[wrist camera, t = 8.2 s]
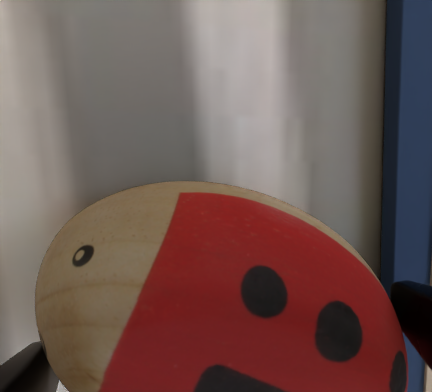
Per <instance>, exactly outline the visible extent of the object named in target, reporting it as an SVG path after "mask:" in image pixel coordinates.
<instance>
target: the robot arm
mask: <svg viewBox="0 0 432 392" xmlns="http://www.w3.org/2000/svg"><path fill="white" fill-rule="evenodd" d="M390 301H391V303H392V306H393V308H394V310H395V313H396V315H397V318H398V321H399V324H400V327H401V330H402V332H403V333H404V335H405V336H406V337H407V339H408V340H409V341H410V343H411V344H412V345H413V347H414V348H415V349H416V351H417V352H418V353H419V355H420V356H421V357H422V359H423V360H424V361H425V363H426V364H427V365H428V367H429V368H430V369H431V370H432V286H430V285H426V284H421V283H417V282H413V281H409V280H403V281H398V282H394V283H392V284H391V287H390ZM58 382H59V378H58V377H57V375H56V374H55V372H54V371H53V369H52V367H51V365H50V363H49V362H48V359H47V357H46V355H45V352H44V349H43V346H42V343H41V341H40V342H34V343H32V344H30V345H29V346H27V347H26V348H24V349H23V350H22V351H20V352H19V353H17V354H16V355H15V356H13V357H12V358H10V359H9V360H7V361H6V362H5V363H3V364H2V365H0V392H56V390H57V386H58Z"/></svg>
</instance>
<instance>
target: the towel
mask: <svg viewBox="0 0 432 392" xmlns="http://www.w3.org/2000/svg"><path fill="white" fill-rule="evenodd" d="M403 280H409V281H413V282H417V283H421V284H426V285H430V286H432V0H387V24H386V67H385V110H384V153H383V195H382V238H381V281H380V283H381V284H382V286H383V288H384V290H385V291H386V293H387V295H388V297H389V299H390V287H391V284H392V283H394V282H398V281H403ZM402 333H403V332H402ZM403 337H404V341H405V346H406V351H407V359H408V388H407V392H432V370H431V369H430V368H429V367H428V365H427V364H426V363H425V361H424V360H423V359H422V357H421V356H420V355H419V353H418V352H417V351H416V349H415V348H414V347H413V345H412V344H411V343H410V341H409V340H408V339H407V337H406V336H405V335H404V333H403Z"/></svg>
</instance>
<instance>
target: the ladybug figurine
mask: <svg viewBox="0 0 432 392" xmlns="http://www.w3.org/2000/svg"><path fill="white" fill-rule="evenodd" d="M35 314H36V322H37V327H38V332H39V336H40V340H41V343H42V346H43V349H44V352H45V355H46V357H47V359H48V362H49V363H50V365H51V367H52V369H53V371H54V372H55V374H56V375H57V377H58V378H59V380H60V381H61V382H62V384H63V385H64V386H65V387H66V389H67V390H68V391H69V392H407V388H408V359H407V351H406V346H405V341H404V337H403V333H402V330H401V327H400V324H399V321H398V318H397V315H396V313H395V310H394V308H393V306H392V303H391V301H390V299H389V297H388V295H387V293H386V291H385V290H384V288H383V286H382V284H381V283H380V281H379V279H378V278H377V277H376V275H375V274H374V272H373V271H372V269H371V268H370V267H369V265H368V264H367V263H366V262H365V260H364V259H363V258H362V257H361V256H360V254H359V253H358V252H357V251H356V250H355V249H354V248H353V247H352V246H351V245H350V244H349V243H348V242H347V241H346V240H344V239H343V238H342V237H341V236H340V235H338V234H337V233H336V232H335V231H333V230H332V229H331V228H329V227H328V226H326V225H325V224H323V223H322V222H320V221H319V220H317V219H316V218H314V217H312V216H311V215H309V214H307V213H306V212H304V211H302V210H300V209H298V208H296V207H294V206H292V205H290V204H288V203H286V202H283V201H281V200H278V199H276V198H273V197H271V196H268V195H265V194H262V193H259V192H256V191H252V190H248V189H244V188H240V187H236V186H231V185H226V184H219V183H212V182H198V181H172V182H161V183H153V184H147V185H143V186H138V187H134V188H130V189H127V190H123V191H120V192H118V193H115V194H113V195H110V196H108V197H106V198H104V199H101V200H99V201H97V202H95V203H94V204H92V205H90V206H88V207H87V208H85V209H84V210H82V211H81V212H80V213H78V214H77V215H75V216H74V217H73V218H72V219H71V220H69V221H68V222H67V223H66V224H65V225H64V226H63V227H62V229H61V230H60V231H59V232H58V234H57V235H56V237H55V238H54V240H53V241H52V243H51V244H50V246H49V248H48V250H47V252H46V254H45V256H44V258H43V261H42V264H41V267H40V270H39V273H38V278H37V282H36V290H35Z"/></svg>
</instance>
